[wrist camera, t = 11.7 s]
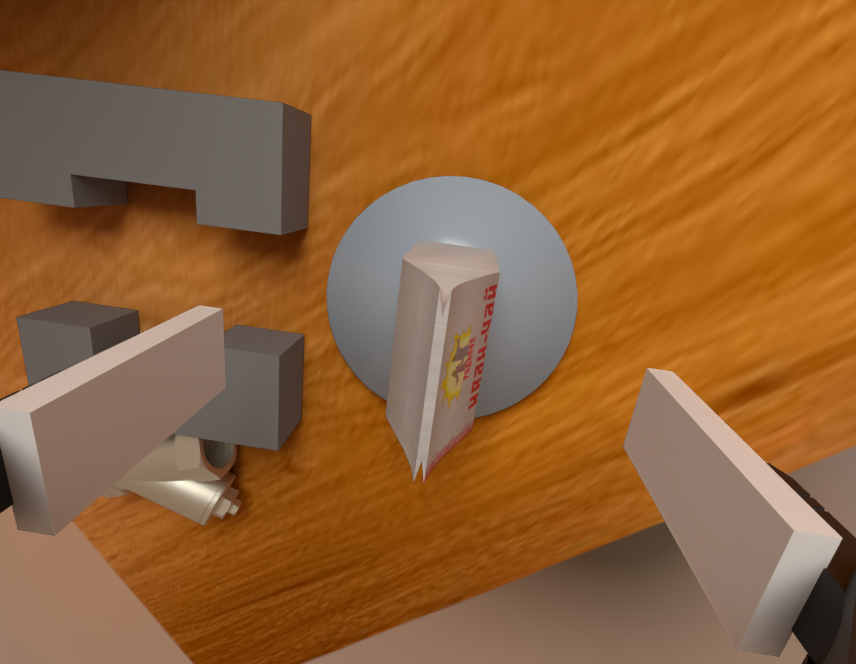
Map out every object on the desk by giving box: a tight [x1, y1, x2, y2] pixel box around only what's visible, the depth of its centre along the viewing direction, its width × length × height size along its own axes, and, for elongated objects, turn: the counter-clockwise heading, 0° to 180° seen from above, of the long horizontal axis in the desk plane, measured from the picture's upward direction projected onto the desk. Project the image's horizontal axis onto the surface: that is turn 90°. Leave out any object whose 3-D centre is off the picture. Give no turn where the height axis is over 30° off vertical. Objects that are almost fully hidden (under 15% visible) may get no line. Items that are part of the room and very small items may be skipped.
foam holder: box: [0, 70, 311, 451], centre depth 24 cm, size 17×14×4 cm
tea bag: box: [386, 240, 500, 483], centre depth 19 cm, size 4×7×10 cm, turn 173°
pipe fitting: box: [101, 434, 242, 526], centre depth 28 cm, size 8×4×7 cm
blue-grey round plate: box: [327, 176, 577, 418], centre depth 24 cm, size 13×13×1 cm
